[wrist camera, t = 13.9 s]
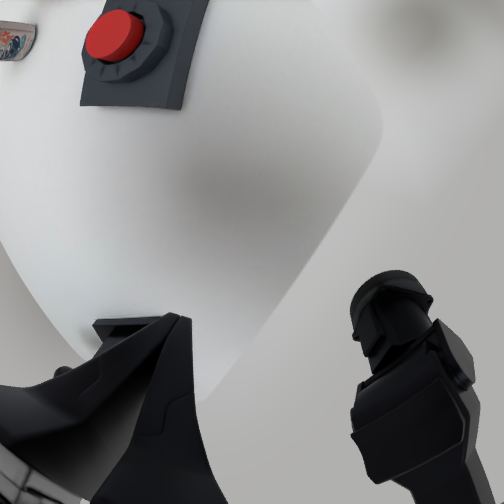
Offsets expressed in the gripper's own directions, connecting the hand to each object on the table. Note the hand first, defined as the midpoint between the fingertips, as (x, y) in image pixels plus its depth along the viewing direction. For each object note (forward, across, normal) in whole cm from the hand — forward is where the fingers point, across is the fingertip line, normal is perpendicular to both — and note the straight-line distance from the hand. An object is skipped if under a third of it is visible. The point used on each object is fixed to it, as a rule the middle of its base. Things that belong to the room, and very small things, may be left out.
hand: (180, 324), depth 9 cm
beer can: (+13, +29, -16) cm, 36 cm away
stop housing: (+13, +10, -12) cm, 20 cm away
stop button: (+9, +10, -12) cm, 18 cm away
